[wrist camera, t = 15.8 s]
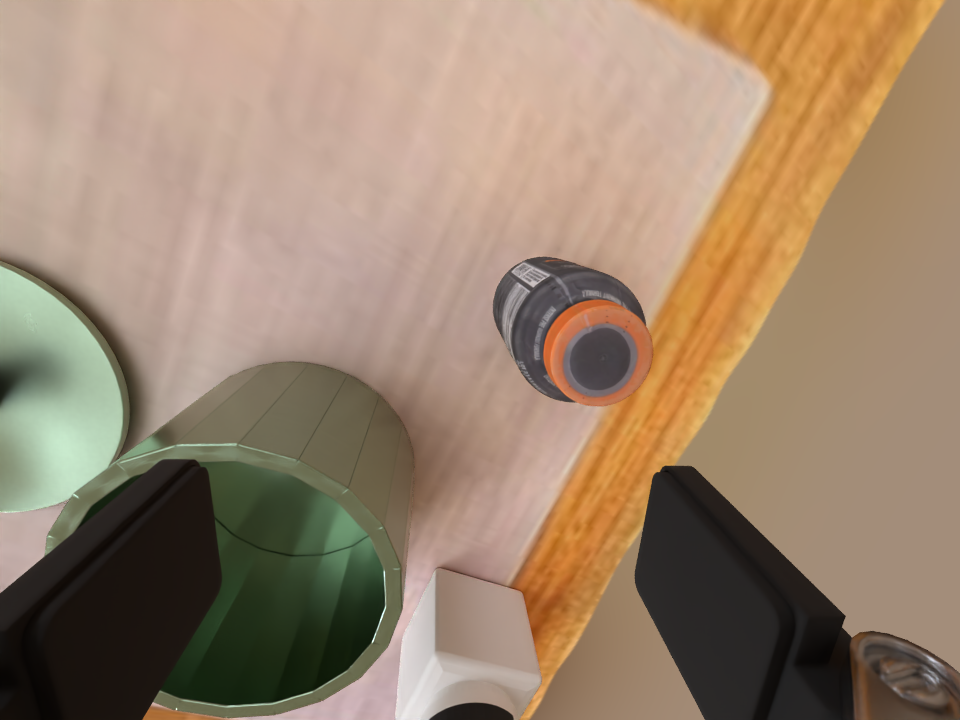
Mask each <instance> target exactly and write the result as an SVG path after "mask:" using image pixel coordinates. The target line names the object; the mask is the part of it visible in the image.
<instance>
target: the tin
mask: <svg viewBox="0 0 960 720" xmlns="http://www.w3.org/2000/svg"><path fill="white" fill-rule="evenodd" d="M162 459H195V460H197V461H198V463H199V464H200V467H205V468H207V470H208V473H209V479H210V487H211V495H212V503H213V510H214V518H215V526H216V533H217V541H218V549H219V557H220V564H221V572H222V583H221V588H220V591H219V594H218V596H217V598H216V599H215V601H214V603H213V604H212V606H211V607H210V609H209V611H208V612H207V614H206V616H205V617H204V619H203V621H202V622H201V624H200V625H199V627H198V629H197V630H196V632H195V634H194V635H193V637H192V639H191V640H190V642H189V643H188V645H187V647H186V648H185V650H184V652H183V653H182V655H181V657H180V658H179V660H178V662H177V663H176V665H175V666H174V668H173V670H172V671H171V673H170V675H169V676H168V678H167V680H166V681H165V683H164V684H163V686H162V688H161V689H160V691H159V693H158V694H157V696H156V698H155V699H154V701H153V702H154V703H157V704H159V705H162V706H165V707H167V708H170V709H172V710H177V711H183V712H190V713H196V714H203V715H209V716H216V717H222V718H226V717H227V718H238V717H253V716H269V715H276V714H281V713H284V712H288V711H291V710H294V709H298V708H301V707H304V706H308V705H311V704H314V703H318V702H321V701H323V700H325V699H327V698H328V697H330V696H332V695H333V694H335V693H336V692H338V691H340V690H341V689H343V688H345V687H346V686H348V685H350V684H351V683H353V682H355V681H356V680H358V679H359V678H361V677H362V676H363V675H364V673H365V672H366V671H367V670H368V669H369V668H370V667H371V666H372V664H373V663H374V662H375V661H376V660H377V659H378V658H379V656H380V655H381V654H382V653H383V652H384V651H385V650H386V649H387V647H388V646H389V643H390V641H391V638H392V635H393V633H394V630H395V628H396V625H397V622H398V620H399V617H400V615H401V612H402V609H403V600H404V589H405V578H406V568H407V557H408V546H409V536H410V525H411V514H412V504H413V493H414V467H415V466H414V455H413V450H412V446H411V442H410V439H409V436H408V434H407V431H406V429H405V427H404V425H403V424H402V422H401V420H400V418H399V417H398V415H397V414H396V413H395V411H394V410H393V409H392V407H391V406H390V405H389V404H388V403H387V402H386V401H385V400H384V399H383V398H382V397H381V396H380V395H379V394H378V393H377V392H375V391H374V390H373V389H372V388H370V387H369V386H368V385H366V384H364V383H363V382H361V381H359V380H358V379H356V378H354V377H352V376H350V375H348V374H346V373H343V372H341V371H339V370H336V369H332V368H329V367H326V366H322V365H317V364H311V363H303V362H277V363H270V364H265V365H259V366H256V367H253V368H250V369H246V370H244V371H241V372H239V373H237V374H235V375H232V376H230V377H228V378H227V379H225V380H224V381H223V382H221V383H220V384H218V385H217V386H216V387H214V388H213V389H211V390H210V391H209V392H207V393H206V394H205V395H203V396H202V397H200V398H199V399H198V400H196V401H195V402H194V403H192V404H191V405H190V406H188V407H187V408H186V409H184V410H183V411H182V412H180V413H179V414H178V415H176V416H175V417H174V418H172V419H171V420H170V421H168V422H167V423H166V424H164V425H163V426H162V427H160V428H159V429H158V430H156V431H155V432H154V433H153V434H151V435H150V436H149V437H147V438H146V439H145V440H143V441H142V442H141V443H139V444H138V445H137V446H135V447H134V448H133V449H131V450H130V451H129V452H127V453H126V454H125V455H123V456H122V457H121V458H119V459H118V460H117V461H115V462H114V463H113V464H111V465H110V466H109V467H107V468H106V469H105V470H103V471H102V472H101V473H99V474H98V475H97V476H95V477H94V478H93V479H91V480H90V481H89V482H87V483H86V484H85V485H83V486H82V487H81V488H79V489H78V490H77V491H75V492H74V493H73V494H72V496H71V497H70V499H69V501H68V502H67V504H66V506H65V507H64V509H63V510H62V512H61V514H60V515H59V517H58V518H57V520H56V522H55V523H54V525H53V526H52V528H51V530H50V531H49V533H48V535H47V540H46V548H45V556H46V555H47V554H48V553H49V552H51V551H52V550H53V549H54V548H55V547H57V546H58V545H59V544H60V543H61V542H63V541H64V540H65V539H66V538H67V537H69V536H70V535H71V534H72V533H74V532H75V531H76V530H77V529H78V528H80V527H81V526H82V525H83V524H84V523H86V522H87V521H88V520H89V519H90V518H92V517H93V516H94V515H95V514H96V513H98V512H99V511H100V510H101V509H102V508H104V507H105V506H106V505H107V504H108V503H110V502H111V501H112V500H113V499H114V498H116V497H117V496H118V495H119V494H120V493H122V492H123V491H124V490H125V489H126V488H128V487H129V486H130V485H131V484H132V483H134V482H135V481H136V480H137V479H138V478H140V477H141V476H142V475H143V474H144V473H146V472H147V471H148V470H149V469H150V468H152V467H153V466H154V465H155V464H156V463H158V462H159V461H161V460H162Z"/></svg>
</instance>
